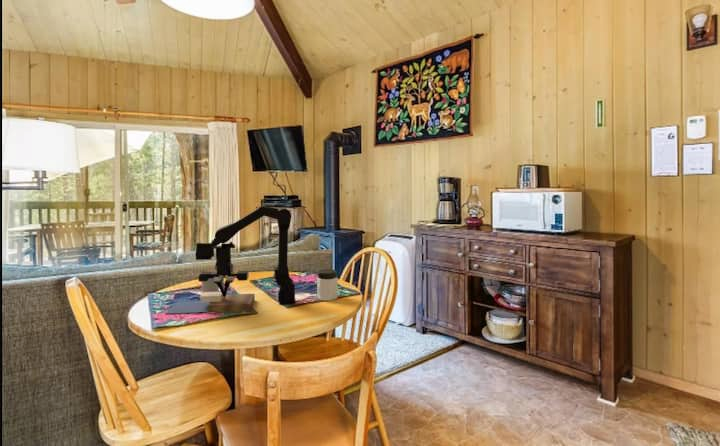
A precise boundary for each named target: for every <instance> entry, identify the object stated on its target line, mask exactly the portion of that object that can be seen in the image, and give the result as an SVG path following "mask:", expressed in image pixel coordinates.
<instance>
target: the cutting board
mask: <svg viewBox="0 0 720 446" xmlns="http://www.w3.org/2000/svg"><path fill="white" fill-rule="evenodd" d="M255 296H256V295H255V293H234V294H228V293H227V294H226V297H224V298H223V299H222V301H221V302H210V304H209V305H208V312H218V313H241V312H242V311H243V312H244V313H245V312H252V309H253V305H254V304H255ZM238 311H239V312H238ZM240 311H241V312H240Z"/></svg>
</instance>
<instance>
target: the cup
mask: <svg viewBox="0 0 720 446" xmlns="http://www.w3.org/2000/svg"><path fill="white" fill-rule="evenodd" d="M210 271H211V272H212V274H216V273H217V271H215V270H210ZM206 272H208V271H206ZM204 292H220V289H219V287H218V285H217V284H216V283H214V278H212V279H208V280H207V281H202V282H201V294H203V293H204Z"/></svg>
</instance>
